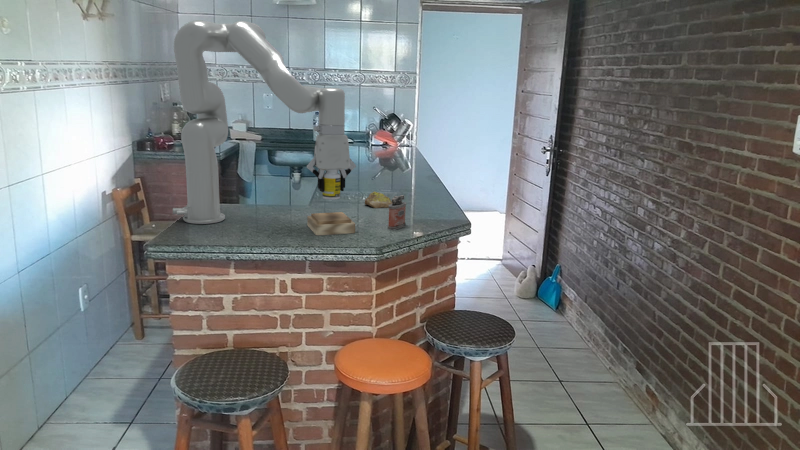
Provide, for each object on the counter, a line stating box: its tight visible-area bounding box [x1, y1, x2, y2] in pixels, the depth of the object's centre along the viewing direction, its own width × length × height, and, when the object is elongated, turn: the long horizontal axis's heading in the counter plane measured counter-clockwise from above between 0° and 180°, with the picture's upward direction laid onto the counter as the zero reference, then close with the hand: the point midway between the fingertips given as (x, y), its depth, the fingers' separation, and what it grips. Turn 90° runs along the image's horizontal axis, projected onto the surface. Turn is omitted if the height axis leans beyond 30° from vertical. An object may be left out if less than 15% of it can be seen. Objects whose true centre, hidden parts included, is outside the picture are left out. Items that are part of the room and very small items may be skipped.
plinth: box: [306, 211, 356, 236], centre depth 183 cm, size 12×12×4 cm
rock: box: [364, 190, 392, 209], centre depth 218 cm, size 12×7×10 cm
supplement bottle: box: [321, 169, 341, 201], centre depth 180 cm, size 5×5×10 cm
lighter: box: [387, 194, 407, 231], centre depth 188 cm, size 8×3×10 cm, turn 148°
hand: (331, 190), depth 181 cm, fingers closed on supplement bottle, 5 cm apart
